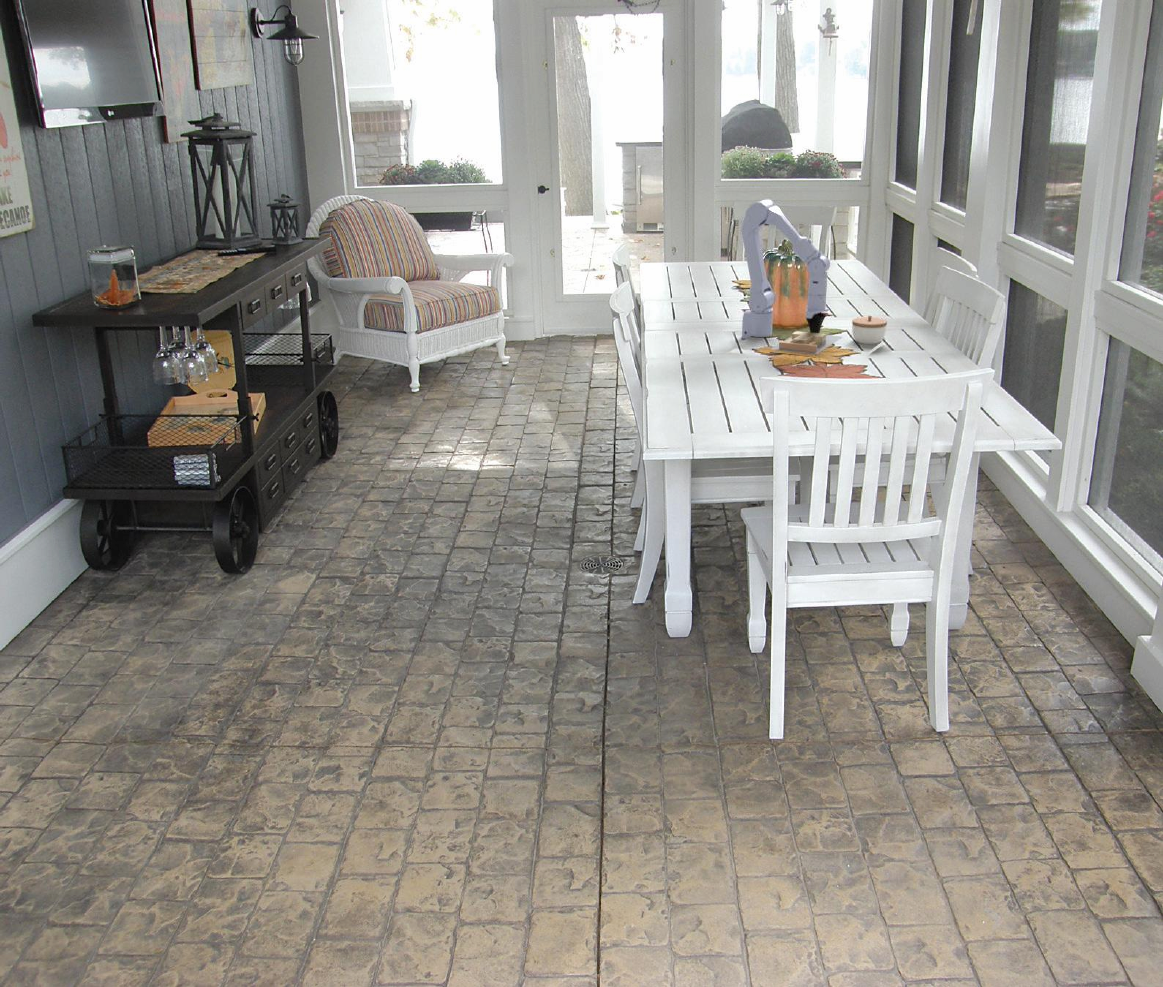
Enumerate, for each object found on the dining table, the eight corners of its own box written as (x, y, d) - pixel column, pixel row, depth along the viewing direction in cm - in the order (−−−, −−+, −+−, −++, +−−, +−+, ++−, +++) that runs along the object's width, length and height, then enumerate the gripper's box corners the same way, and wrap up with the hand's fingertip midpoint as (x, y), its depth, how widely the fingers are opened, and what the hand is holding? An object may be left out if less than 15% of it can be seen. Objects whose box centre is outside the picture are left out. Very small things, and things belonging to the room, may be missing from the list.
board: (769, 353, 347) (770, 343, 346) (797, 335, 368) (798, 326, 367) (816, 358, 340) (816, 348, 339) (842, 340, 361) (842, 330, 360)
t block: (783, 347, 348) (784, 338, 347) (795, 340, 357) (796, 331, 356) (814, 351, 344) (815, 341, 343) (825, 343, 353) (826, 334, 351)
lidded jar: (871, 350, 348) (873, 320, 345) (843, 344, 356) (845, 315, 353) (891, 344, 354) (894, 315, 351) (864, 339, 362) (866, 310, 359)
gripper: (821, 299, 345) (819, 342, 350) (836, 291, 357) (833, 332, 362) (800, 297, 348) (797, 340, 353) (815, 289, 360) (812, 330, 365)
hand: (814, 336), depth 358 cm, fingers closed
